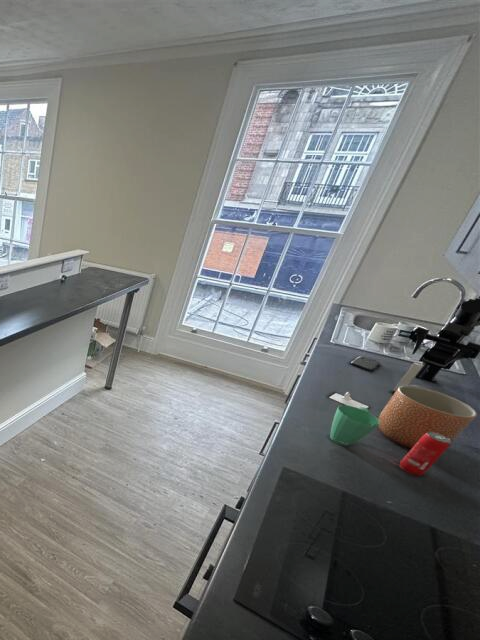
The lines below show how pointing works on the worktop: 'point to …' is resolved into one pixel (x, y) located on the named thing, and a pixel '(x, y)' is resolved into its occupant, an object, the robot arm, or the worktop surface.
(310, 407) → the worktop surface
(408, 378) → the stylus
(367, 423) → the mug
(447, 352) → the robot arm
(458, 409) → the planter
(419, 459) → the beverage can
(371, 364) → the smartphone
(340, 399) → the adhesive hook
